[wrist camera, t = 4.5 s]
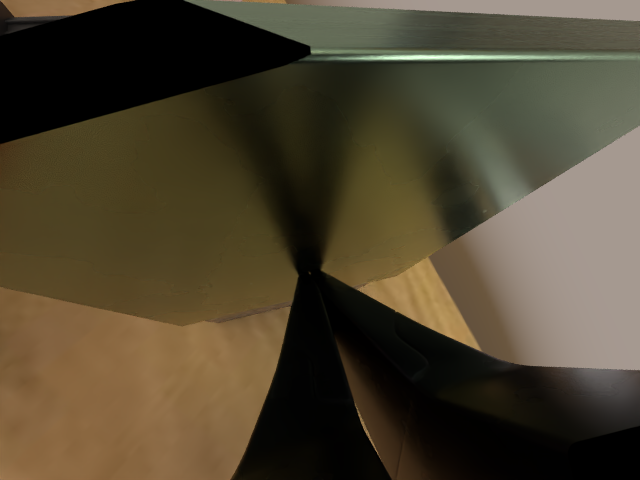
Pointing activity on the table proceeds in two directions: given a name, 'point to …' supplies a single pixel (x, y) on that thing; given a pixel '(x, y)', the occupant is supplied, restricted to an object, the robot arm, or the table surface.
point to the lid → (282, 143)
